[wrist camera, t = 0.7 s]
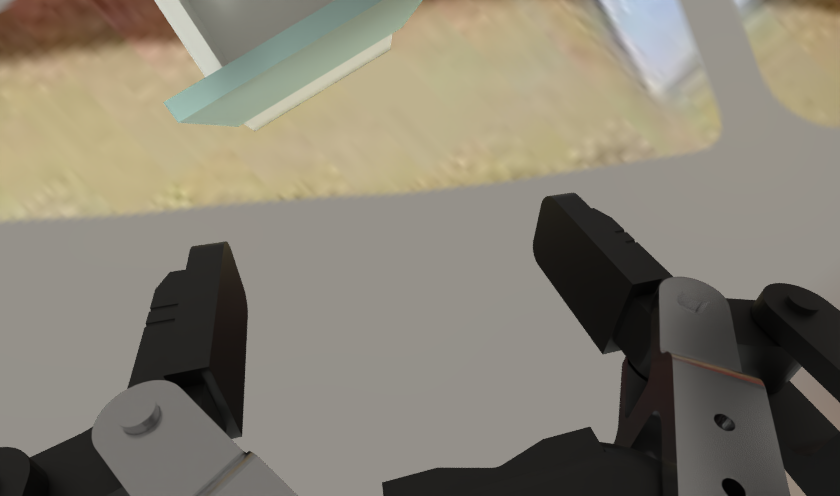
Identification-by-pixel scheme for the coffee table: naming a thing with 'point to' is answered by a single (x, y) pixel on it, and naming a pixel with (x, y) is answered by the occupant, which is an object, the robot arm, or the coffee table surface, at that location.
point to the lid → (289, 61)
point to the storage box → (252, 39)
